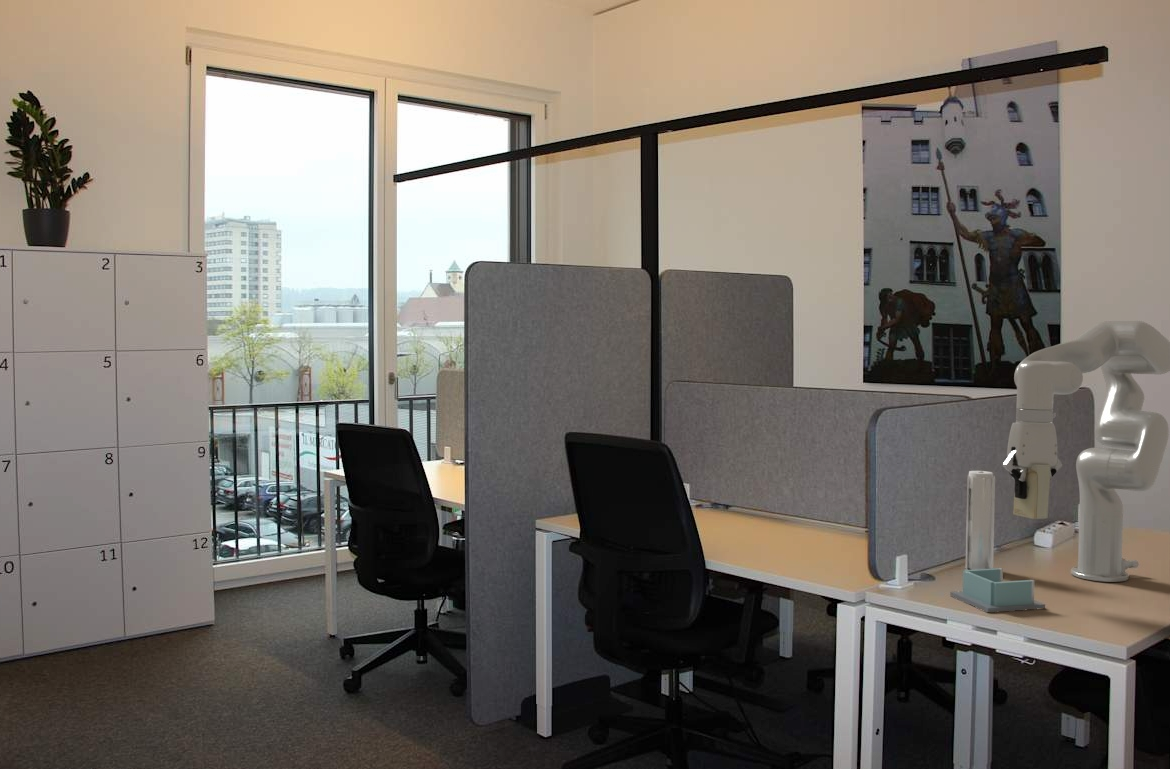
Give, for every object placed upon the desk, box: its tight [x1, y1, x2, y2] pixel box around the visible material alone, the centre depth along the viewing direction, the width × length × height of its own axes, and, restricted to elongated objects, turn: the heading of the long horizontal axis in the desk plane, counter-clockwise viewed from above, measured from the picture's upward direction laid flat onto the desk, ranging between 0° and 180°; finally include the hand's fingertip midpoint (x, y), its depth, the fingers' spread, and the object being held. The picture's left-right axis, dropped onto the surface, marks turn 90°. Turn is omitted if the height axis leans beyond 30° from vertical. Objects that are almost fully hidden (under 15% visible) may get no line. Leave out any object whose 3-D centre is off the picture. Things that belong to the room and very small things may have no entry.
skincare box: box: [1012, 465, 1051, 520], centre depth 224 cm, size 6×4×12 cm
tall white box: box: [965, 470, 996, 570], centre depth 251 cm, size 6×6×25 cm
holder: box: [949, 567, 1046, 613], centre depth 222 cm, size 14×14×6 cm
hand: (1031, 497), depth 224 cm, fingers closed on skincare box, 4 cm apart
